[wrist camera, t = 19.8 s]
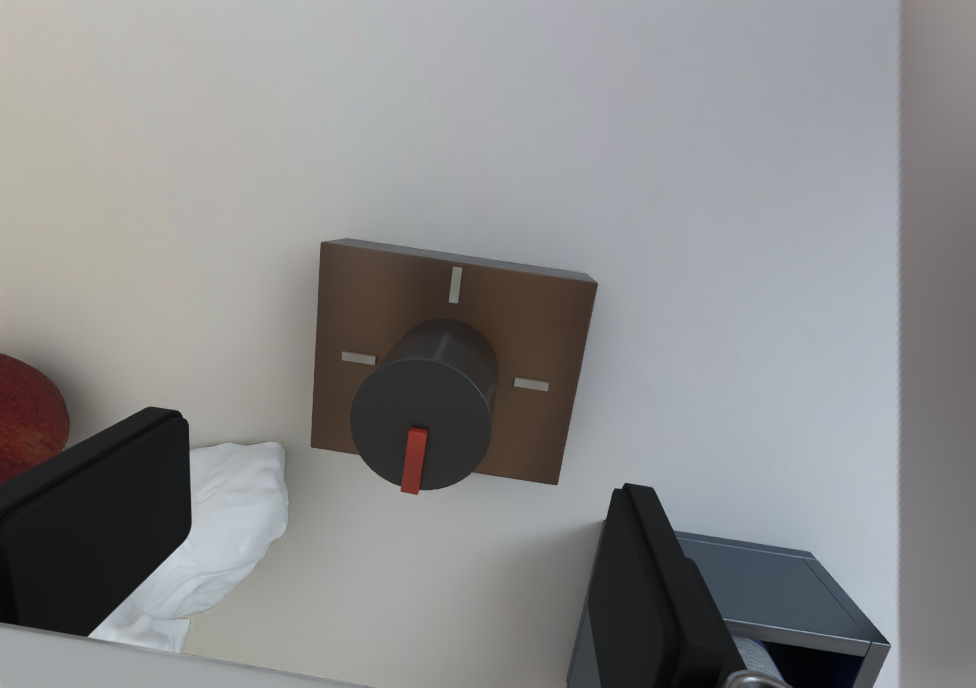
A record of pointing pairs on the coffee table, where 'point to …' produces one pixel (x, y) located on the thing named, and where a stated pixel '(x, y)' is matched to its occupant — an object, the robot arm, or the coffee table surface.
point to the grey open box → (771, 615)
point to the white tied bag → (208, 544)
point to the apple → (28, 418)
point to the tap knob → (427, 407)
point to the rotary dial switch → (468, 299)
